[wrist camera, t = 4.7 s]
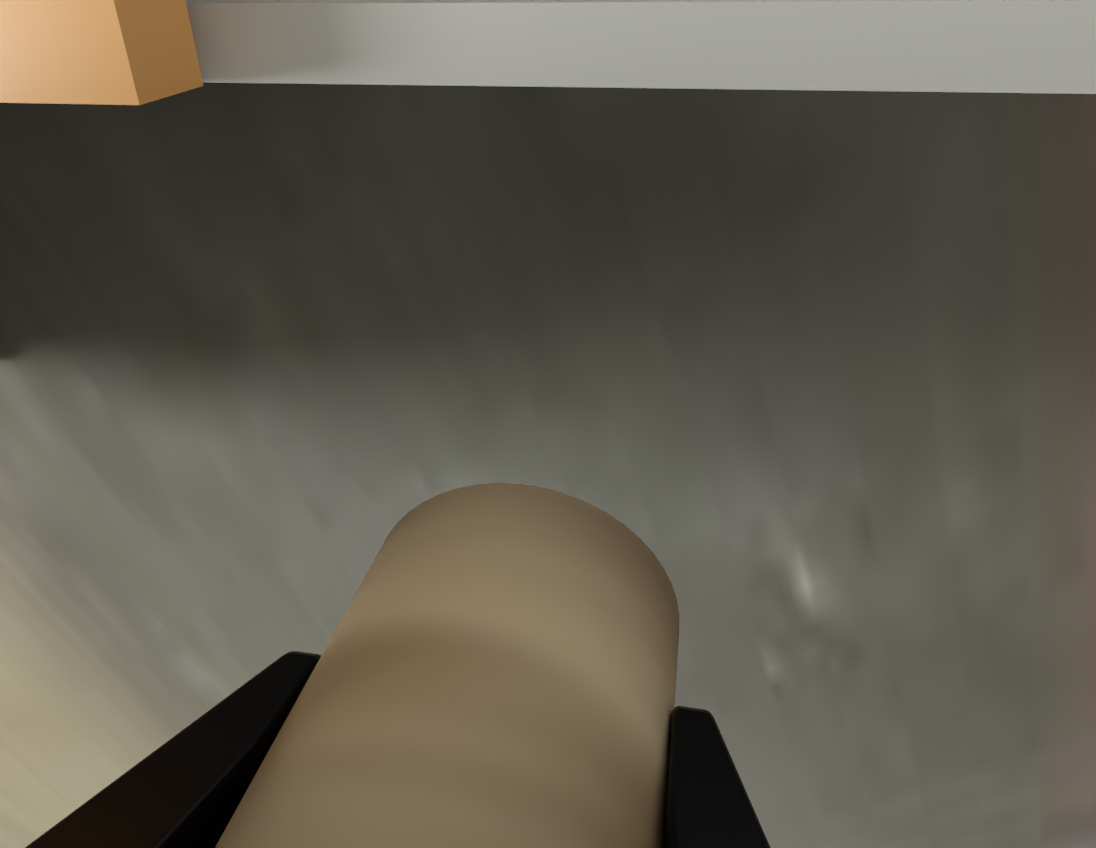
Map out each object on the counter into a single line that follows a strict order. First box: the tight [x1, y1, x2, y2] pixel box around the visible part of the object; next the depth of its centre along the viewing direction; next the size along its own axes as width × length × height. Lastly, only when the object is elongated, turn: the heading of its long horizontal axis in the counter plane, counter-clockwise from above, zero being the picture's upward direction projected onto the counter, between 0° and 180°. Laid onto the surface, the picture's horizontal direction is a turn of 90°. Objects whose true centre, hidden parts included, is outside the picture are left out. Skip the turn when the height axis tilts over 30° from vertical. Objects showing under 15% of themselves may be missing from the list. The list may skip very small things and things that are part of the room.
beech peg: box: [215, 483, 679, 848], centre depth 9 cm, size 4×4×5 cm
